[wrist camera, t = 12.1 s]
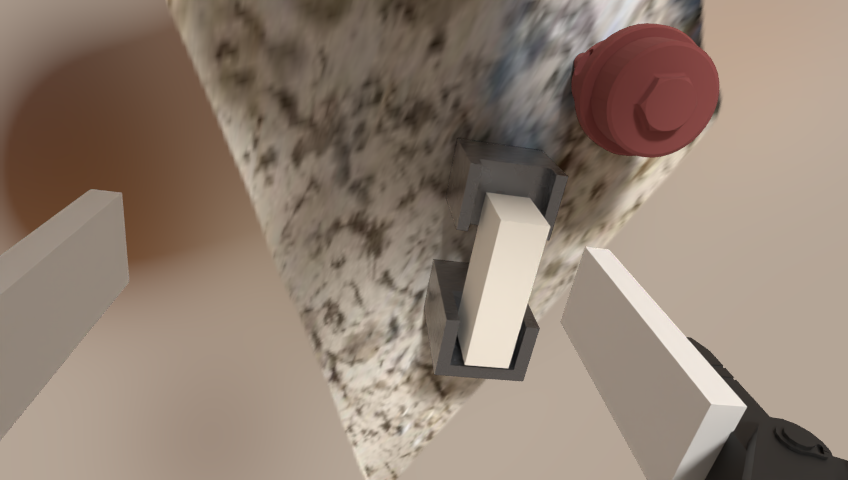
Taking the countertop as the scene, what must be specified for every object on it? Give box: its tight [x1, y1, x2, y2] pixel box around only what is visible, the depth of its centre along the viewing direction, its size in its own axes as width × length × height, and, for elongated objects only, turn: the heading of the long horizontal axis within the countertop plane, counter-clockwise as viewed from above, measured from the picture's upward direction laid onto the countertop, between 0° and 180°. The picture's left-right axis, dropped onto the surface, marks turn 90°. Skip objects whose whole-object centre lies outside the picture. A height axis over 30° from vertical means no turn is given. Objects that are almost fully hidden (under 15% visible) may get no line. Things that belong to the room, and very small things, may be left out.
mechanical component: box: [571, 23, 719, 157], centre depth 43 cm, size 12×10×10 cm
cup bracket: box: [424, 259, 540, 381], centre depth 52 cm, size 6×8×11 cm
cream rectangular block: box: [457, 192, 550, 368], centre depth 46 cm, size 14×4×6 cm, turn 170°
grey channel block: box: [446, 138, 568, 240], centre depth 48 cm, size 6×8×8 cm
